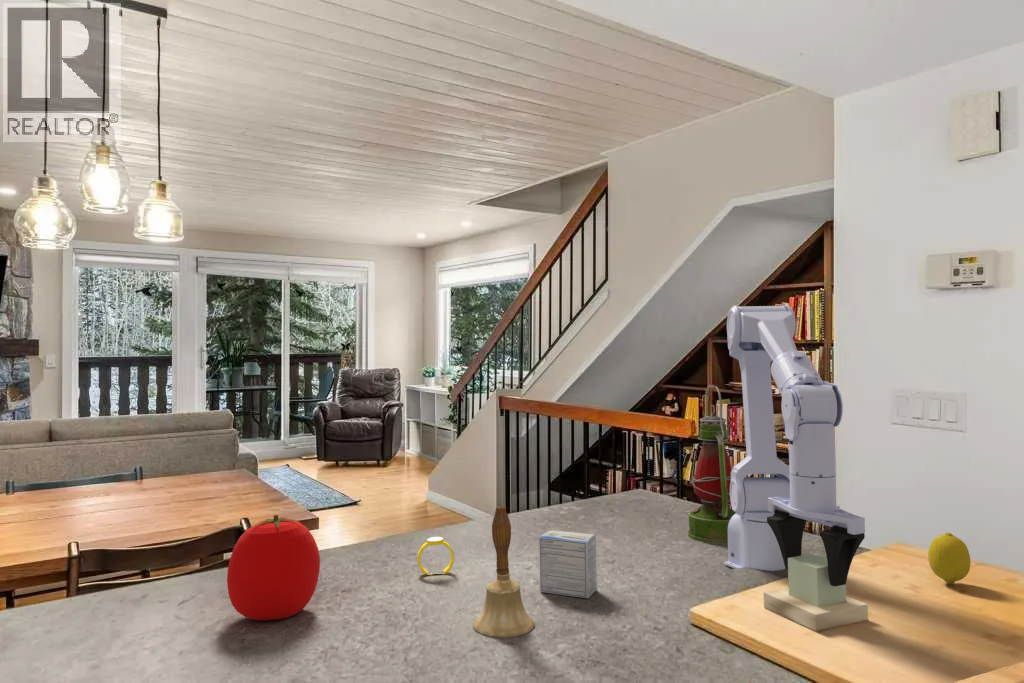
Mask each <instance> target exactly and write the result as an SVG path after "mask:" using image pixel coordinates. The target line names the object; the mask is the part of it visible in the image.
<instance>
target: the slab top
mask: <svg viewBox="0 0 1024 683" xmlns="http://www.w3.org/2000/svg"><path fill="white" fill-rule="evenodd" d="M846 600H847V601H846V602H841V603H836V604H832V605H827V606H822V607H816V606H814V605H811V604H809V603H806V602H804V601H802V600H799V599H797V598H794V597H792V596H790V595H789V587H787V588H782V589H781V588H780V589H776V590H771V591H770V590H769V591H764V592H763V607H764V609H765V608H767V609H769V610H771V611H773V612H772V613H774V612H775V613H774V614H776V613H778V614H780V615H782V616H784V617H786V618H785V619H787V618H789V619H791V620H793V621H795V622H797V623H796V624H798V623H800V624H802V625H804V626H806V627H808V628H807V629H809V628H811V629H813V630H815V631H817V630H822V629H827V628H831V627H836V626H841V625H845V624H850V623H855V622H860V621H864V620H869V612H868V611H869V609H868V607H869V606H868V603H866V602H862V601H860V600H857V599H855V598H852V597H850V596H847V595H846ZM767 609H766V610H767ZM769 610H768V611H769ZM771 611H770V612H771ZM778 614H777V615H778ZM780 615H779V616H780ZM782 616H781V617H782ZM784 617H783V618H784ZM789 619H788V620H789ZM791 620H790V621H791ZM793 621H792V622H793ZM795 622H794V623H795ZM800 624H799V625H800ZM802 625H801V626H802ZM804 626H803V627H804ZM806 627H805V628H806ZM811 629H810V630H811ZM813 630H812V631H813ZM815 631H814V632H815Z"/></svg>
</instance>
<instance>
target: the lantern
mask: <svg viewBox="0 0 1024 683" xmlns="http://www.w3.org/2000/svg"><path fill="white" fill-rule="evenodd" d="M710 389H712V390H716V391H717V394H718V401H719V403H718V404H719V406H718V407H719V415H716V414H715V413H716V412H715V411H716V410H715V408H716V407H715V405H714V404H710V406H709V407H710V409H709V410H710V411H709V412H710V415H708V394H709V393H708V392H709V390H710ZM721 396H722V394H721V392H720V389H719V386H718V385H716V384H708V386H707V387H706V390H705V396H704V409H705V410H704V417H702V418H700V419H699V421H700V423H699V436H698V437H697V439H698V440H700V441H702V447H701V448H700V451H699V455H698V458H697V463H696V467H695V472H694V474H693V475H692V478H691V482H692V486H693V491H694V494H695V496H697V497H699V498H700V501H701V502H702V505H700V506H698V507H695V508H693V509H692V510H690V512H688V530H687V534H688V535H687V538H689V539H691V540H692V541H697V542H700V543H706V544H713V545H715V544H717V545H720V544H721V545H728V524H729V521H730V519H731V518H732V516H733V515H735V514H736V513H735V512H734V510H733V509H732V508H730V504H729V499H730V483H731V472H732V469H733V467H732V464H731V461H730V458H729V454H728V452H727V449H726V447H725V446H726V445H725V442H724V441H729V439H730V438H729V437H728V430H727V424H726V422H727V419H726V418H723V411H722V409H723V408H722V407H723V406H722V397H721ZM712 408H713V410H712Z"/></svg>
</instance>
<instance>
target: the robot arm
mask: <svg viewBox="0 0 1024 683" xmlns="http://www.w3.org/2000/svg"><path fill="white" fill-rule="evenodd" d="M796 323H797V322H796V314H795V311H794V310H793V309H792V307H791V306H790V305H788V304H784V305H783V304H782V305H767V306H766V305H763V306H762V305H759V306H757V305H755V306H754V305H752V306H751V305H750V306H748V305H747V306H745V305H744V306H738V305H733V306H732V307H731V308H730V309H729V311H728V313H727V320H726V333H727V334H726V335H727V337H726V338H727V339H726V340H727V348H728V351H729V357H731V358H734V359H736V360H737V361H738V363H739V364H738V365H739V369H740V375H741V386H742V387H741V388H742V389H741V391H742V403H743V419H744V421H743V422H744V432H745V434H744V435H745V436H744V437H745V447H746V448H745V451H746V456H745V458H743V459H742V460H741V461H739V462H738V463H736V465H734V466H733V467H732V472H731V483H730V498H729V499H730V500H729V501H730V505H731V509H732V510H734V512H735V513H736V514H735V515H733V516H732V518H731V519H730V521H729V524H728V544H727V560H726V561H724V565H725V566H727V567H729V568H732V569H734V570H735V569H736V570H737V569H742V568H743V569H744V568H751V569H754V570H759V571H760V570H761V571H771V572H773V571H781V570H785V569H787V570H788V558H791V557H797V556H802V546H803V545H802V544H803V543H802V542H803V536H804V530H805V526H806V523H807V521H808V522H813V523H817V524H818V525H824V526H827V527H830V528H832V529H828V530H826V529H825V530H821V531H819V535H820V538H821V540H822V542H823V543H822V544H823V546H824V549H825V554H826V555H825V556H826V557H827V562H828V577H829V582H830V585H832V586H841V585H846V586H847V579H848V576H849V571H850V568H851V564H852V561H853V559H854V558H855V555H856V552H857V550H858V548H859V547H860V545H861V544H862V542H863V541H864V540H865V536H866V535H865V534H866V525H865V524H866V523H865V522H866V519H865V517H863V516H859V515H857V514H853V513H851V512H849V511H847V510H844V509H842V508H840V504H837V468H836V467H837V466H836V463H837V462H836V428H837V427H838V426H839V425H840V424H841V421H842V419H843V413H844V412H843V411H844V410H843V409H844V408H843V407H844V406H843V399H842V394H841V392H840V390H839V387H838V385H837V384H835V383H834V382H829V381H828V380H823V379H822V377H821V376H820V374H819V372H818V370H817V369H816V366H814V363H813V362H812V361H811V358H810V356H809V355H808V354H806V353H805V352H803V351H800V350H799V351H798V349H797V346H796V344H795V341H794V339H793V338H794V335H795V334H796V325H797V324H796ZM771 377H772V378H771ZM772 379H773V381H774V382H775V385H776V387H777V389H778V391H779V392H780V395H781V403H780V404H781V415H782V419H783V422H784V435H785V438H786V440H787V439H788V463H789V464H788V465H787V464H786V463H785V462H783V461H782V460H781V459H780V458H778V455H777V442H776V441H777V440H776V428H775V416H774V402H773V389H772ZM749 475H774V476H762V477H761V476H758V477H757V476H755V477H754V476H752V477H751V476H749ZM747 476H749V477H747Z"/></svg>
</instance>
